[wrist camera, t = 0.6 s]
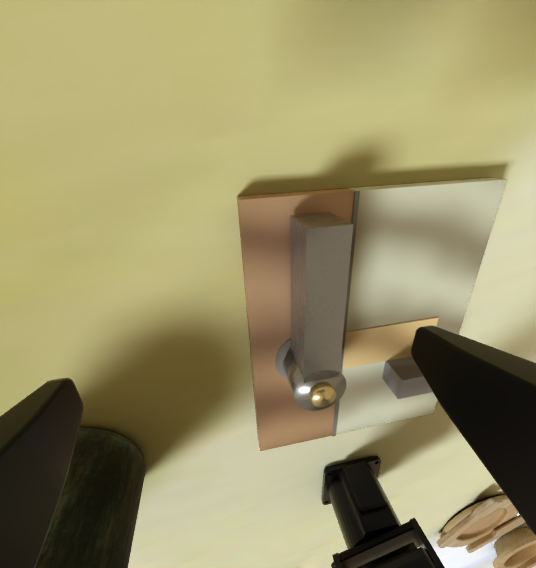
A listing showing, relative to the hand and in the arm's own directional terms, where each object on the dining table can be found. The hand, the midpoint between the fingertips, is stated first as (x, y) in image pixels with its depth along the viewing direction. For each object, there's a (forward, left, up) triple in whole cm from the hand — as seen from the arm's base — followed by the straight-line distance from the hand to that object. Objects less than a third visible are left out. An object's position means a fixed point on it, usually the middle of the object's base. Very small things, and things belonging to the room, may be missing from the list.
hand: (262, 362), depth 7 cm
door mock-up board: (-9, -9, -12) cm, 17 cm away
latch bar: (-5, -5, -10) cm, 12 cm away
